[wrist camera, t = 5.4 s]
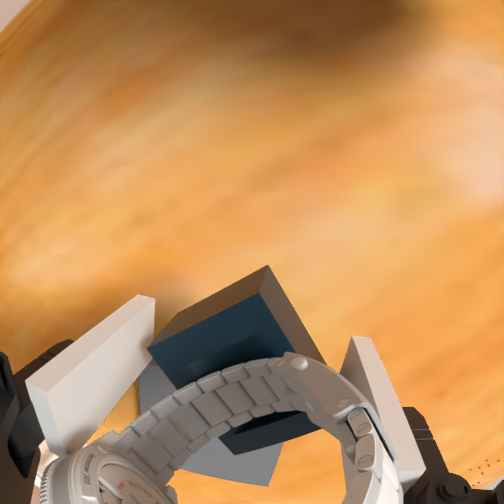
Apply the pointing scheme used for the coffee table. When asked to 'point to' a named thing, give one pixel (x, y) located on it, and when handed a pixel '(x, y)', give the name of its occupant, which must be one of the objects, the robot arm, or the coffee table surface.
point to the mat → (215, 452)
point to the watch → (231, 404)
